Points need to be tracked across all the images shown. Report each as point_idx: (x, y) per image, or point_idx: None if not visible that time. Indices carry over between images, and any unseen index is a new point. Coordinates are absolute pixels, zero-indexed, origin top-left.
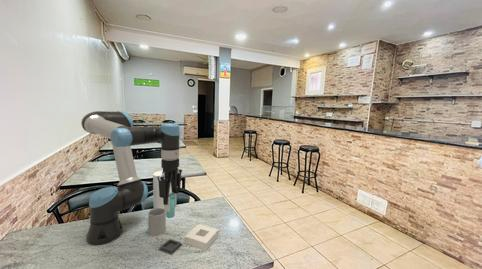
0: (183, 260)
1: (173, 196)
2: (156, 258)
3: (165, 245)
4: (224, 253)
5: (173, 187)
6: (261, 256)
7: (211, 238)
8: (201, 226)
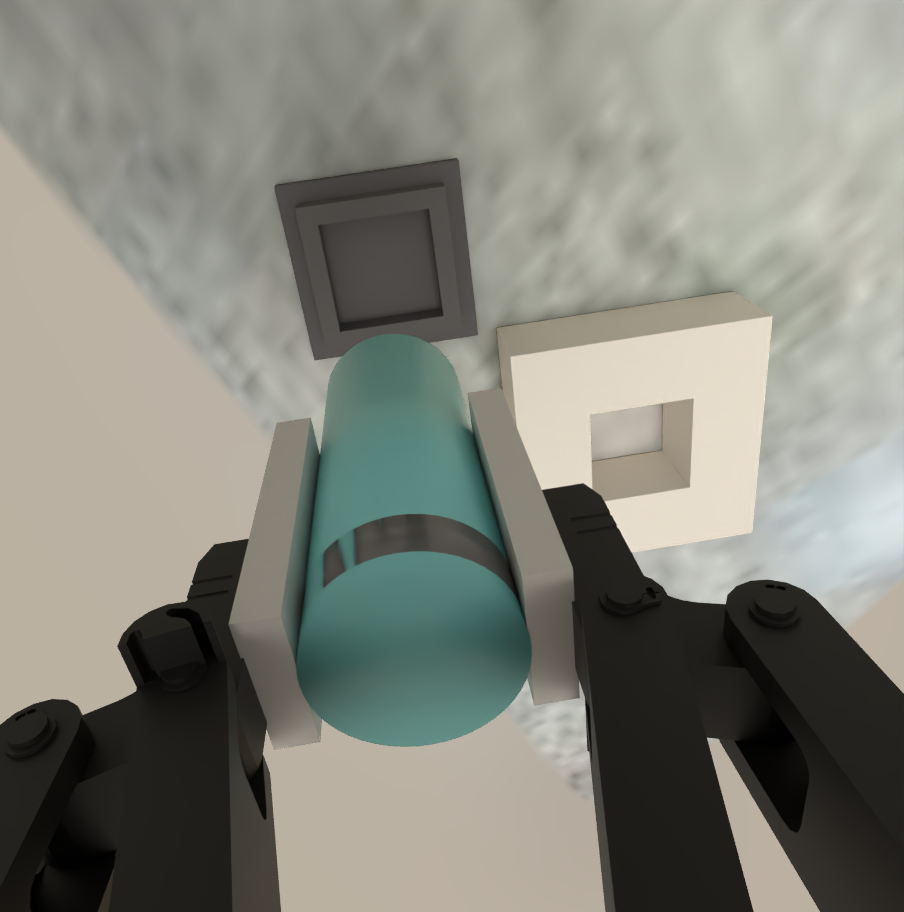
0: None
1: (424, 732)
2: (211, 263)
3: (355, 216)
4: None
5: (598, 809)
6: None
7: None
8: (738, 374)
